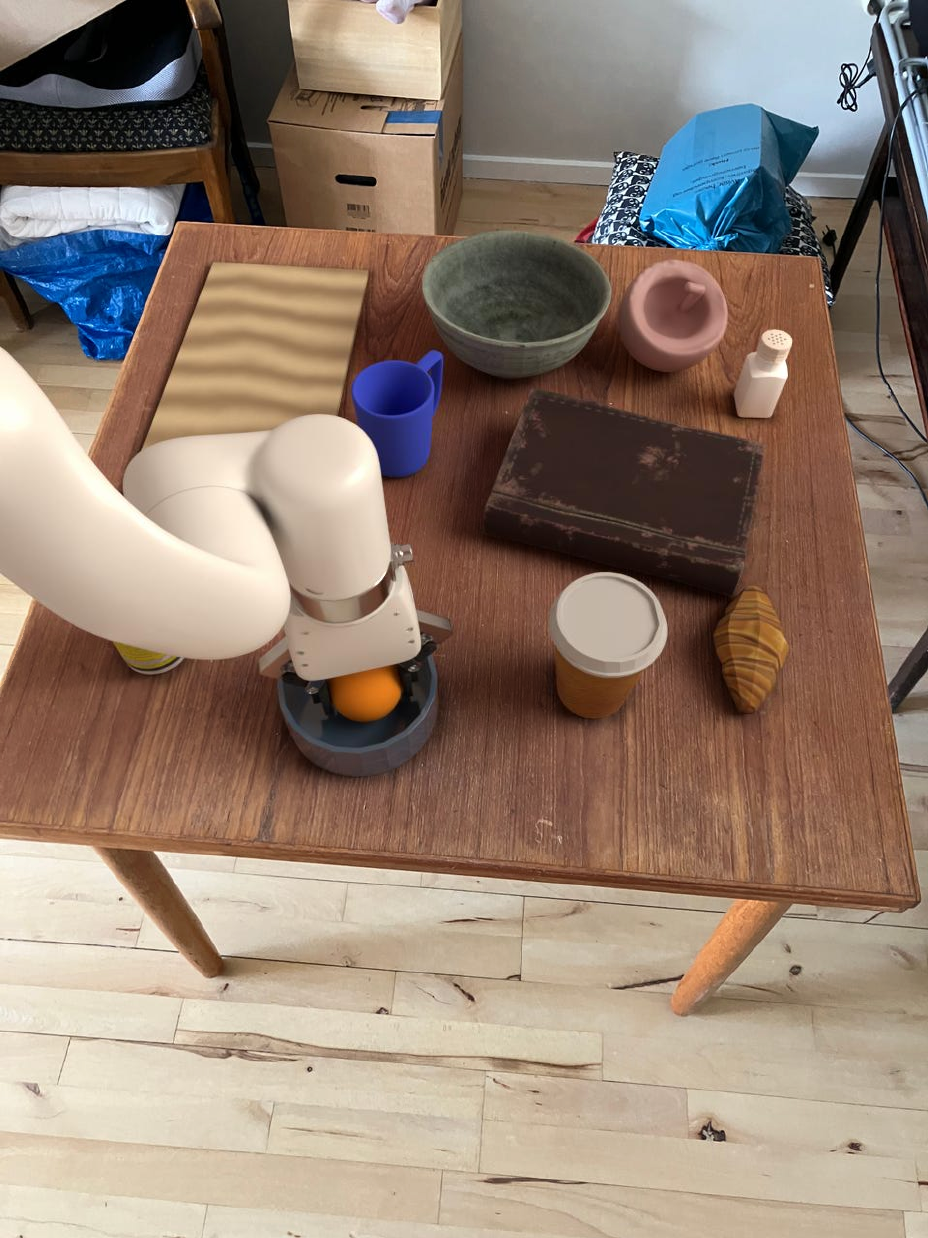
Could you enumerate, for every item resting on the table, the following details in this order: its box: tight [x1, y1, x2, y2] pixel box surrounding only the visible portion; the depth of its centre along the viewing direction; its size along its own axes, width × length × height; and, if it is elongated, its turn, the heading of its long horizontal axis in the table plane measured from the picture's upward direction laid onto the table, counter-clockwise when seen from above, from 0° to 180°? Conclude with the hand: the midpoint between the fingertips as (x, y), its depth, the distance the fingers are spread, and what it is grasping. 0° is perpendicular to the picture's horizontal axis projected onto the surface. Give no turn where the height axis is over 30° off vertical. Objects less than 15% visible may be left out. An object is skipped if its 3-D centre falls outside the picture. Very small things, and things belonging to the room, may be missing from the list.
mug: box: [350, 349, 444, 479], centre depth 92 cm, size 8×12×10 cm
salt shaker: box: [733, 328, 793, 419], centre depth 95 cm, size 4×4×10 cm
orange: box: [328, 664, 402, 722], centre depth 76 cm, size 6×6×6 cm
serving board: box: [140, 261, 369, 452], centre depth 101 cm, size 40×20×1 cm, turn 175°
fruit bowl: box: [276, 653, 439, 778], centre depth 77 cm, size 13×13×5 cm
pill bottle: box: [112, 641, 185, 675], centre depth 77 cm, size 6×6×11 cm
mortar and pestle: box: [617, 258, 729, 373], centre depth 99 cm, size 12×12×11 cm
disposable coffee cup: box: [548, 571, 668, 720], centre depth 75 cm, size 10×10×12 cm
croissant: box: [713, 585, 790, 715], centre depth 80 cm, size 14×7×5 cm, turn 168°
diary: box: [481, 387, 766, 597], centre depth 90 cm, size 19×25×5 cm
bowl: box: [421, 230, 612, 380], centre depth 100 cm, size 21×21×10 cm
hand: (366, 690), depth 77 cm, fingers closed on orange, 6 cm apart
